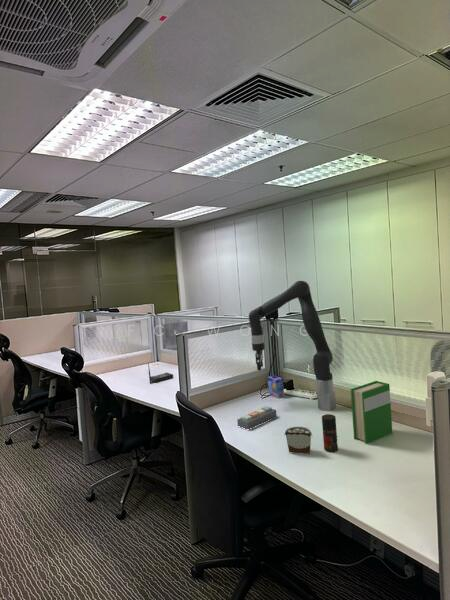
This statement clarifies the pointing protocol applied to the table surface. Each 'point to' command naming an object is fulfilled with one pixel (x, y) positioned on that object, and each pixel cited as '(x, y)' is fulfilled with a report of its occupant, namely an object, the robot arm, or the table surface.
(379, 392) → the hardback book
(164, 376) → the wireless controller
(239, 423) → the keyguard
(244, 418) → the key sage
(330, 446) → the deodorant
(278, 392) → the ink cartridge box
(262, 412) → the key sand
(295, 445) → the food container
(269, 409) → the key slate
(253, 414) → the key terracotta
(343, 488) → the table surface
